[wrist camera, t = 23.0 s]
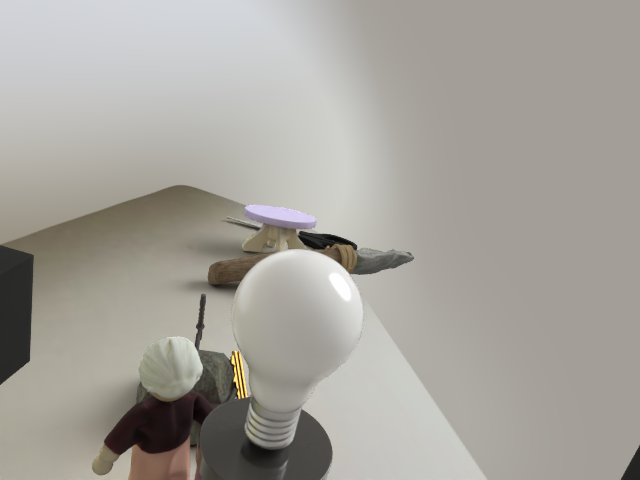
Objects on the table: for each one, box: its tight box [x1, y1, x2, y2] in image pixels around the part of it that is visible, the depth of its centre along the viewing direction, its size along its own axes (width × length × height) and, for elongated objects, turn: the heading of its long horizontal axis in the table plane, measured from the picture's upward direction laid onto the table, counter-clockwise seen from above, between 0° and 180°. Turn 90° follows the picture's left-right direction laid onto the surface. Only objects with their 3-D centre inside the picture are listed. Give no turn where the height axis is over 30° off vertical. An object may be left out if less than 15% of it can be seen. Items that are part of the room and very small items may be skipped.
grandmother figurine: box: [92, 336, 214, 480], centre depth 32 cm, size 8×4×13 cm, turn 141°
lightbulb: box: [231, 249, 364, 450], centre depth 27 cm, size 6×6×11 cm
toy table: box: [242, 205, 317, 252], centre depth 74 cm, size 10×9×6 cm
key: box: [230, 351, 247, 399], centre depth 43 cm, size 4×8×1 cm
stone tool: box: [208, 244, 414, 285], centre depth 70 cm, size 6×4×30 cm
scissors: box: [227, 217, 357, 250], centre depth 82 cm, size 7×1×20 cm
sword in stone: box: [137, 294, 237, 445], centre depth 42 cm, size 10×8×12 cm
